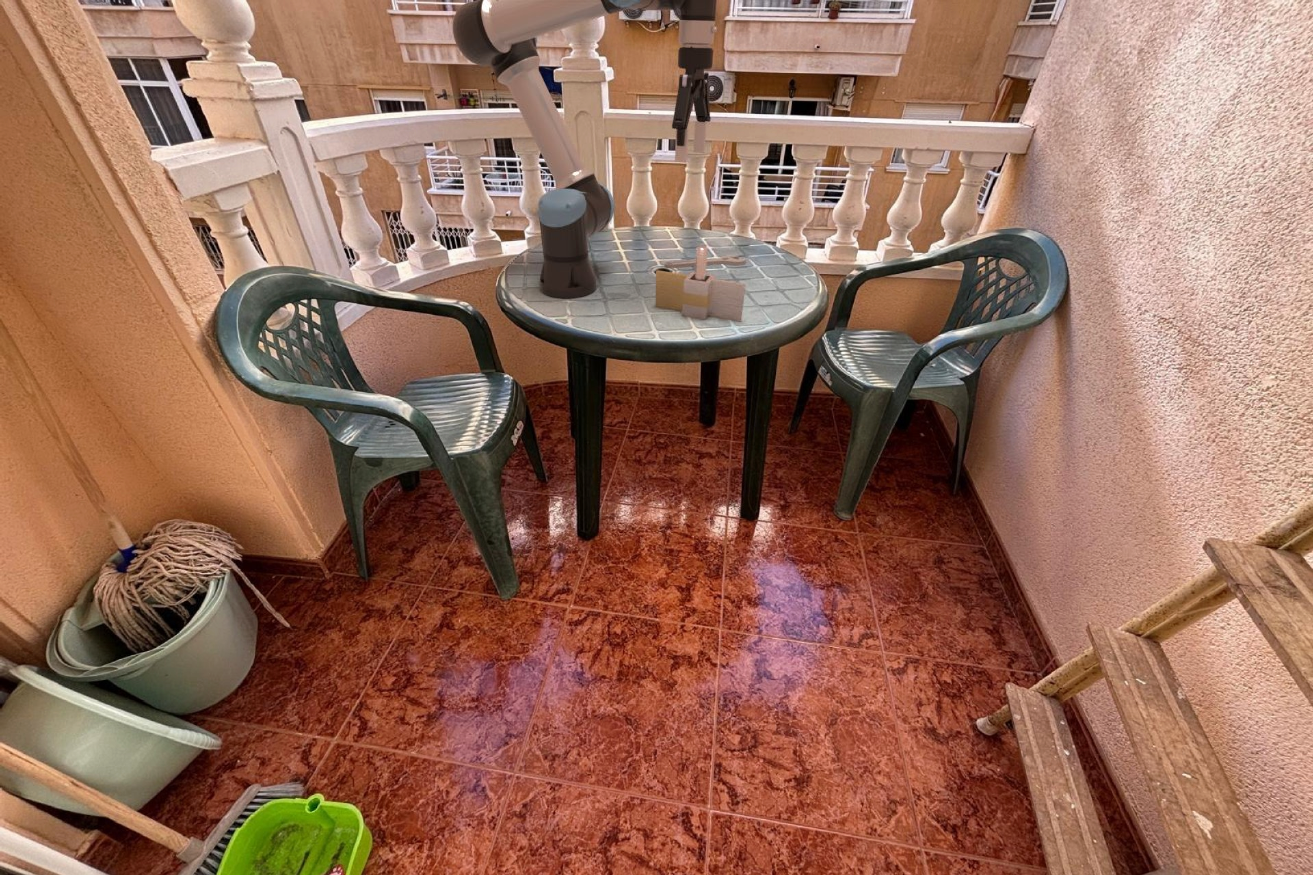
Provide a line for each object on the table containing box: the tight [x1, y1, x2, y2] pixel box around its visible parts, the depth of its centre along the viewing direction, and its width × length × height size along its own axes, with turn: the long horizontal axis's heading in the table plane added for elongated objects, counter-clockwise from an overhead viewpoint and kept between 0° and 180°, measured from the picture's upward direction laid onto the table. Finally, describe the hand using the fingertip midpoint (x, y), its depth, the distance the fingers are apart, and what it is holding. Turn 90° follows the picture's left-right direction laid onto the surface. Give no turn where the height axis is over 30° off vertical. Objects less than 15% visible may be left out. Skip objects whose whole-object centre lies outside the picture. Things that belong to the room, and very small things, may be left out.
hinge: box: [655, 270, 747, 322], centre depth 129 cm, size 22×6×9 cm, turn 69°
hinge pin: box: [694, 245, 709, 282], centre depth 127 cm, size 2×2×16 cm
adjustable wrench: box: [663, 254, 747, 269], centre depth 160 cm, size 25×6×2 cm, turn 99°
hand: (690, 157), depth 127 cm, fingers open, 13 cm apart
